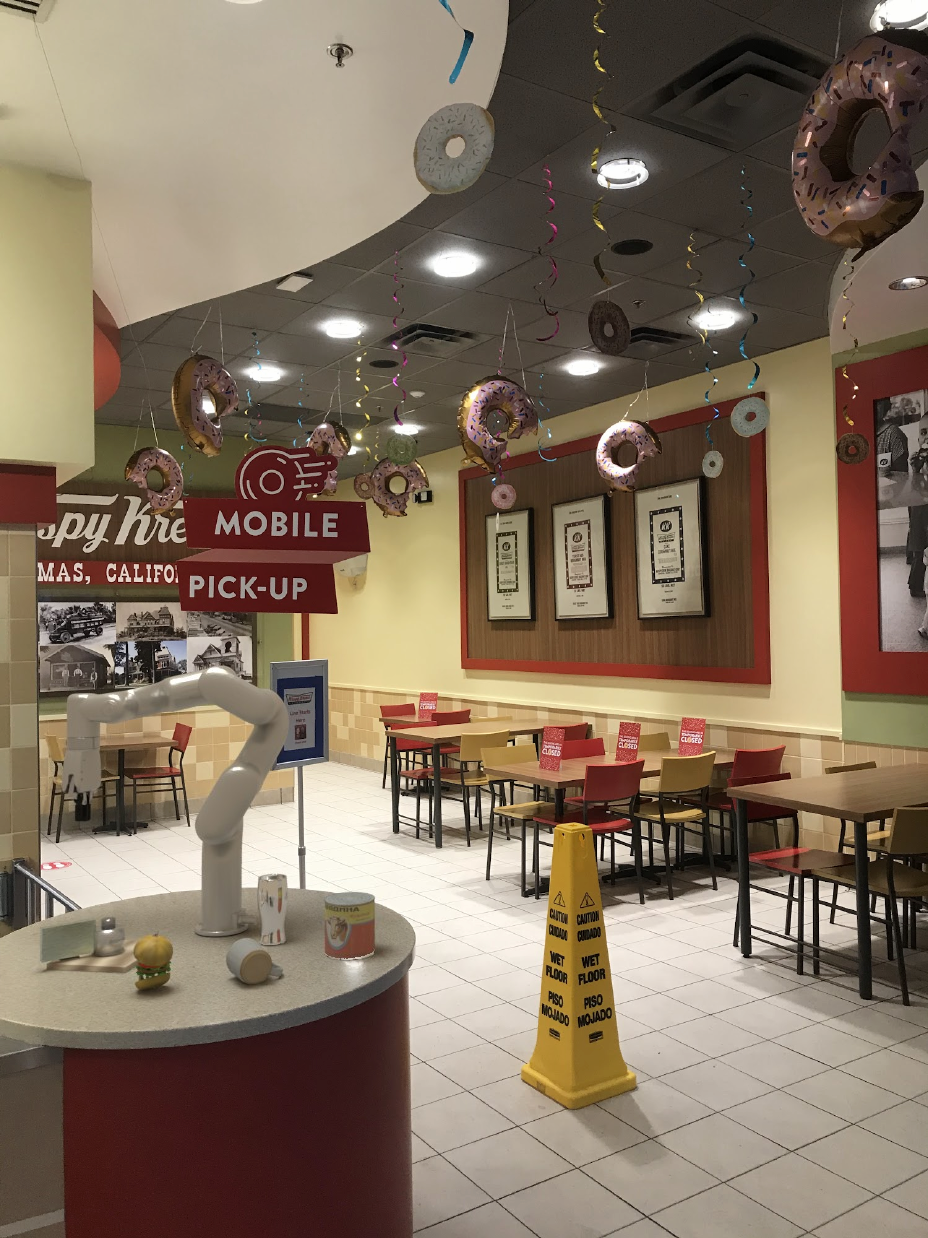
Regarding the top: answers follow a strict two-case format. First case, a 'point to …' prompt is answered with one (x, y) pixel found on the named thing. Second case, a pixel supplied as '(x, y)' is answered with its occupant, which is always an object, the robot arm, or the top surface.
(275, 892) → the beer glass
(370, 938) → the canned food
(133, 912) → the top surface
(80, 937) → the green panel with knob
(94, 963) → the board
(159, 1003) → the top surface
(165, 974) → the hamburger
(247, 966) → the ceramic mug
